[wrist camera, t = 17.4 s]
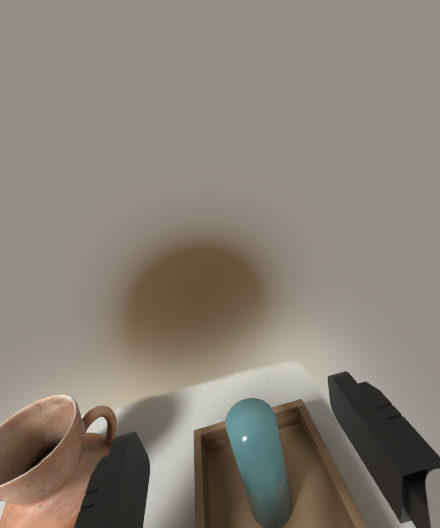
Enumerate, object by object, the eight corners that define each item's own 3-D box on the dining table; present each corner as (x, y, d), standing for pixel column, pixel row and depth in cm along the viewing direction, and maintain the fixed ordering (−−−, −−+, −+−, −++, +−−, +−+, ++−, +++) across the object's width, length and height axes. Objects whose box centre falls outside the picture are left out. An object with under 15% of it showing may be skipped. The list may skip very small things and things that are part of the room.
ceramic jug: (-5, 623, 27) (-88, 557, 22) (7, 501, 39) (-46, 440, 34) (148, 487, 36) (113, 419, 31) (120, 421, 48) (92, 364, 43)
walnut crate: (211, 657, 22) (198, 637, 21) (201, 449, 39) (193, 430, 37) (391, 599, 23) (391, 575, 21) (304, 419, 40) (301, 399, 38)
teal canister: (254, 534, 28) (229, 452, 23) (245, 481, 33) (223, 404, 28) (299, 523, 28) (283, 438, 23) (283, 471, 33) (267, 393, 28)
